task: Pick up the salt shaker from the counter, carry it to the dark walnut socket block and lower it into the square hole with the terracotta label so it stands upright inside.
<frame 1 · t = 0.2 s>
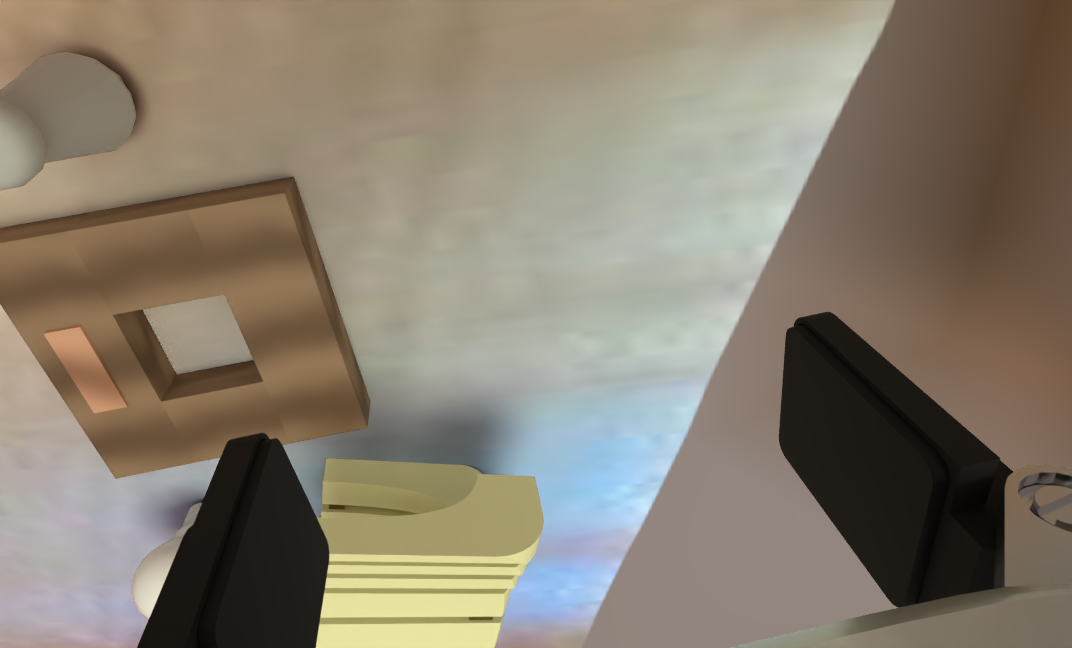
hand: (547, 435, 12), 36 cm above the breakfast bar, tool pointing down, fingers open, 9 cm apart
socket block: (205, 325, 48), on the breakfast bar
lightbulb: (207, 506, 58), on the breakfast bar
slatted curved stool: (408, 512, 62), on the breakfast bar
salt shaker: (98, 96, 40), on the breakfast bar
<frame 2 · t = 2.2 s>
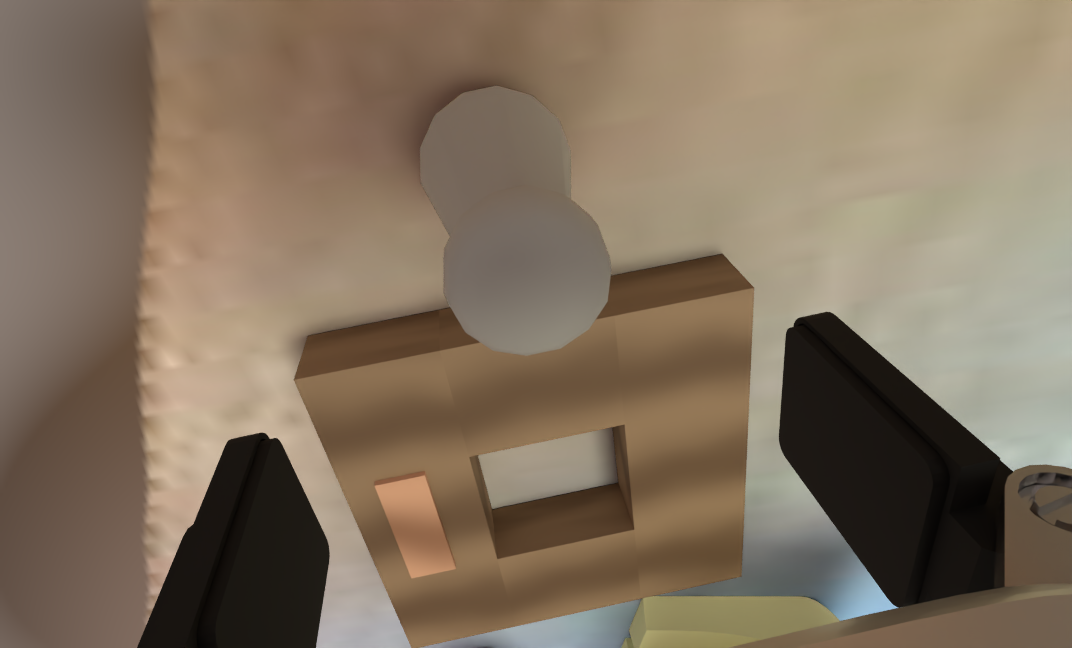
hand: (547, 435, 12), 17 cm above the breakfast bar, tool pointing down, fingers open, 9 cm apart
socket block: (546, 449, 35), on the breakfast bar
salt shaker: (490, 147, 26), on the breakfast bar
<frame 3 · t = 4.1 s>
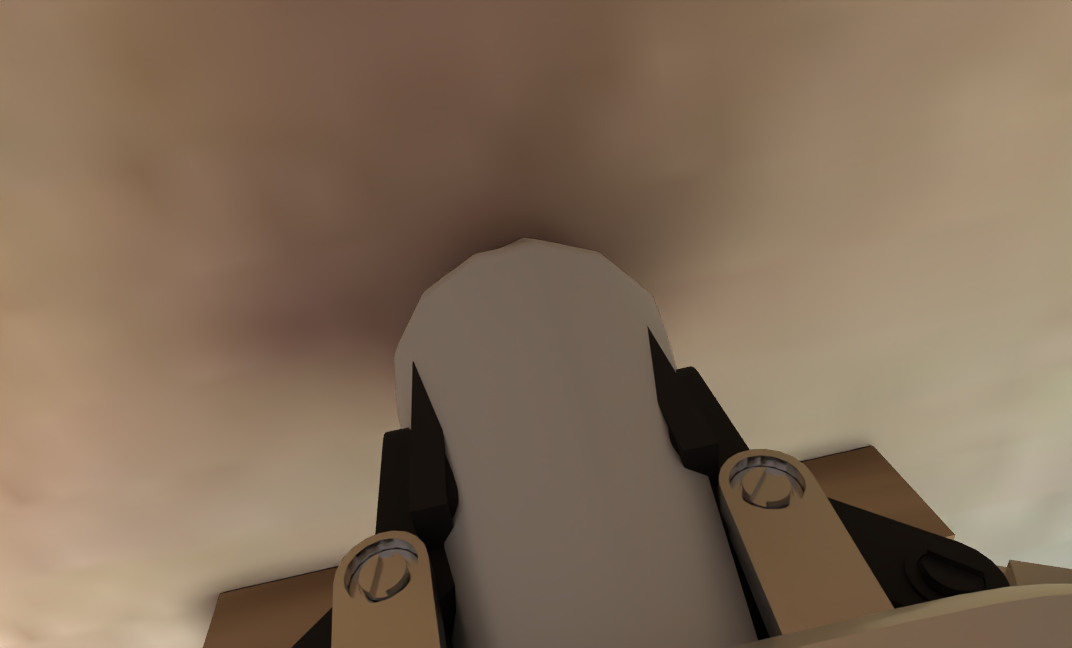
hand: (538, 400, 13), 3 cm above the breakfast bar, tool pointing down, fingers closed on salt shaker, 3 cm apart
salt shaker: (518, 315, 15), on the breakfast bar, touching gripper
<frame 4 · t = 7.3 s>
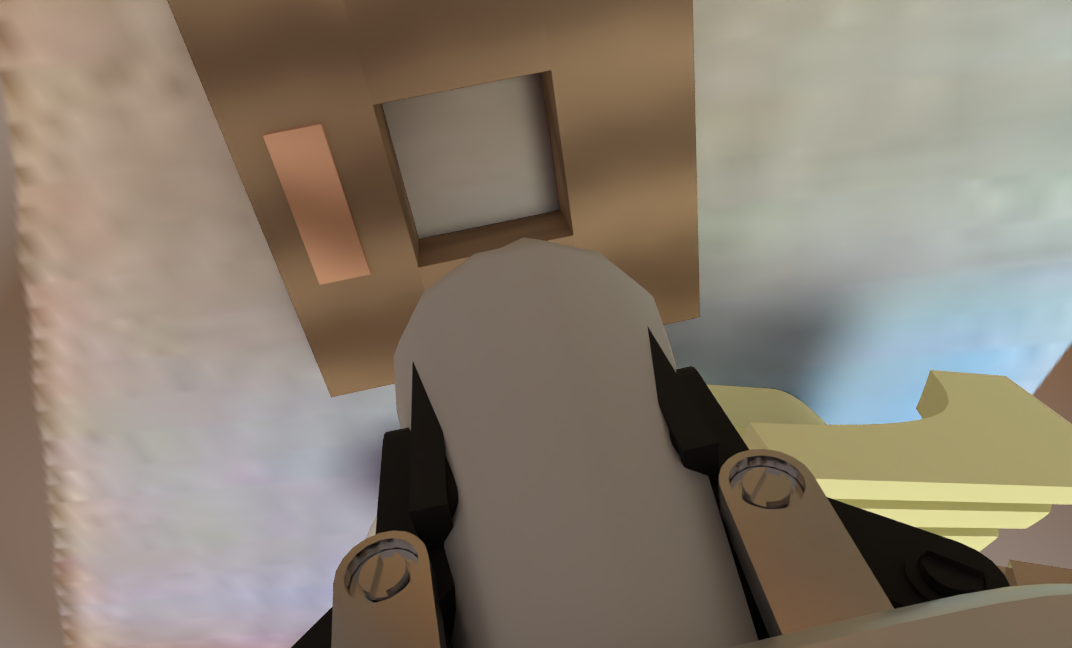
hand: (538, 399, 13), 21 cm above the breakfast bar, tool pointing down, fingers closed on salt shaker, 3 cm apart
socket block: (475, 154, 31), on the breakfast bar
slatted curved stool: (683, 459, 44), on the breakfast bar
salt shaker: (518, 315, 15), point 18 cm above the breakfast bar, touching gripper
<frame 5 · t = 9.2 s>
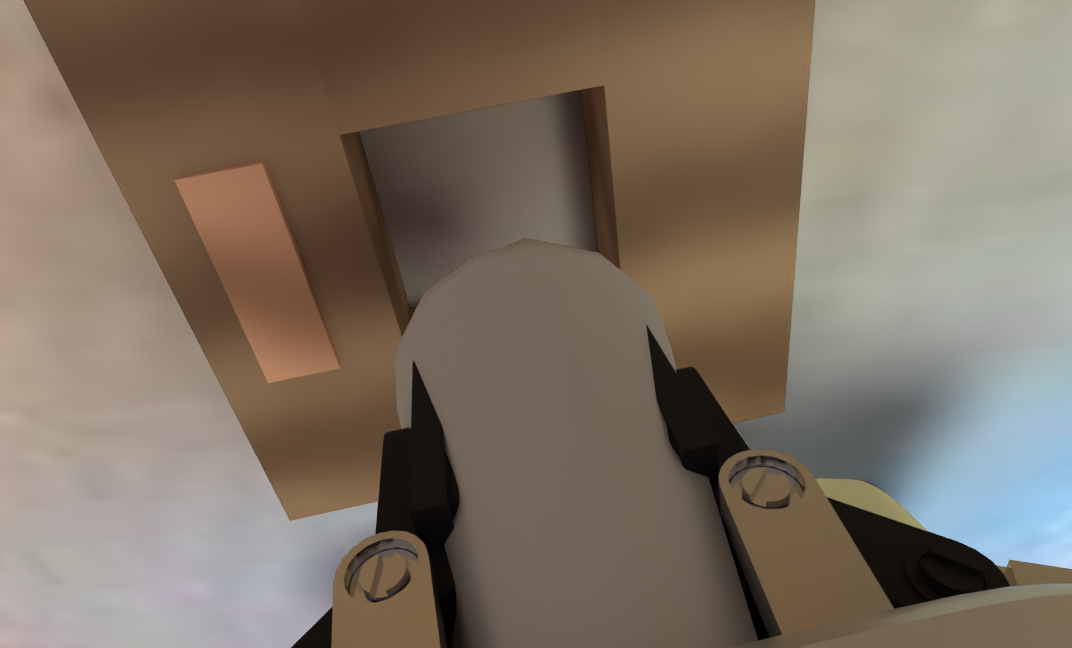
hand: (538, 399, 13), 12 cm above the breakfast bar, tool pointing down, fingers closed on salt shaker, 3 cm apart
socket block: (487, 196, 23), on the breakfast bar
slatted curved stool: (737, 560, 36), on the breakfast bar
salt shaker: (519, 316, 15), point 9 cm above the breakfast bar, touching gripper
when the fingers open (5 cm above the breakfast bar, at t = 10.8 s): salt shaker drops 1 cm, resting in socket block.
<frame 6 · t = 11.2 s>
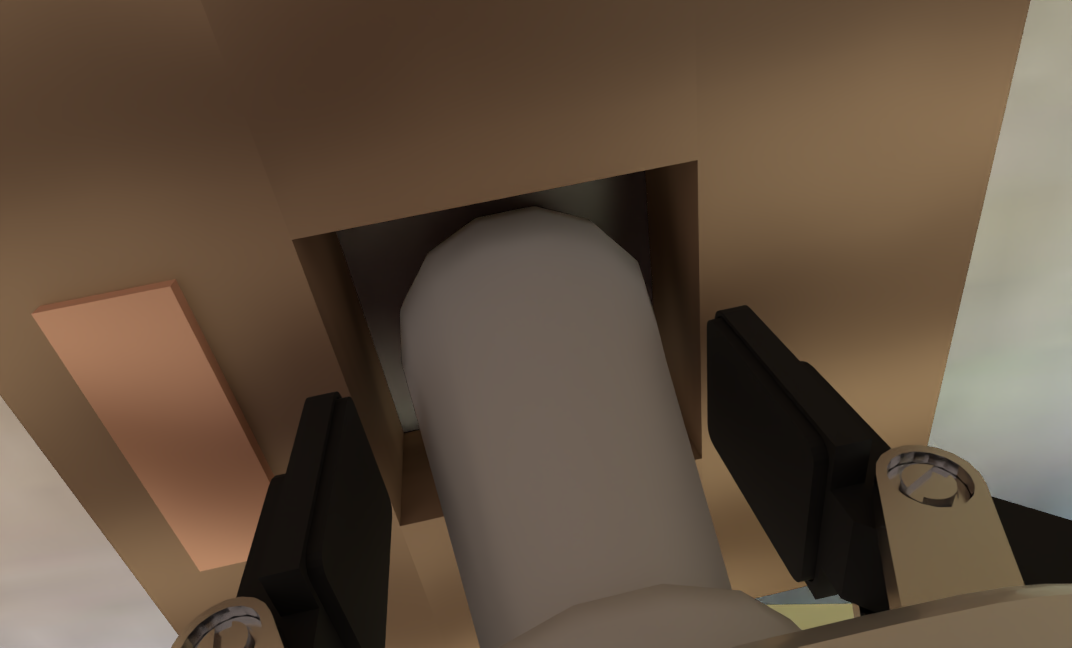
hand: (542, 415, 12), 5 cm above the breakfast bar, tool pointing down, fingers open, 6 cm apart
socket block: (510, 292, 17), on the breakfast bar
salt shaker: (514, 283, 17), resting in socket block
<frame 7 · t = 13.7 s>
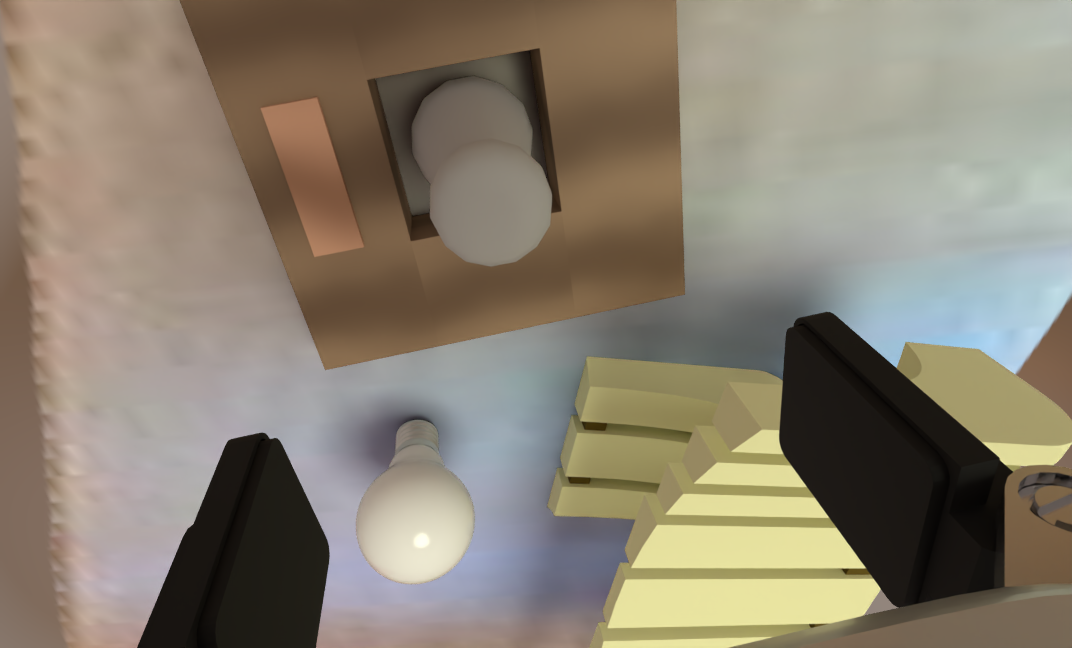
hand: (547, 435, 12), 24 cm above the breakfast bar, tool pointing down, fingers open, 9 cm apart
socket block: (466, 132, 32), on the breakfast bar
lightbulb: (417, 427, 41), on the breakfast bar
slatted curved stool: (671, 440, 45), on the breakfast bar
salt shaker: (469, 128, 32), resting in socket block
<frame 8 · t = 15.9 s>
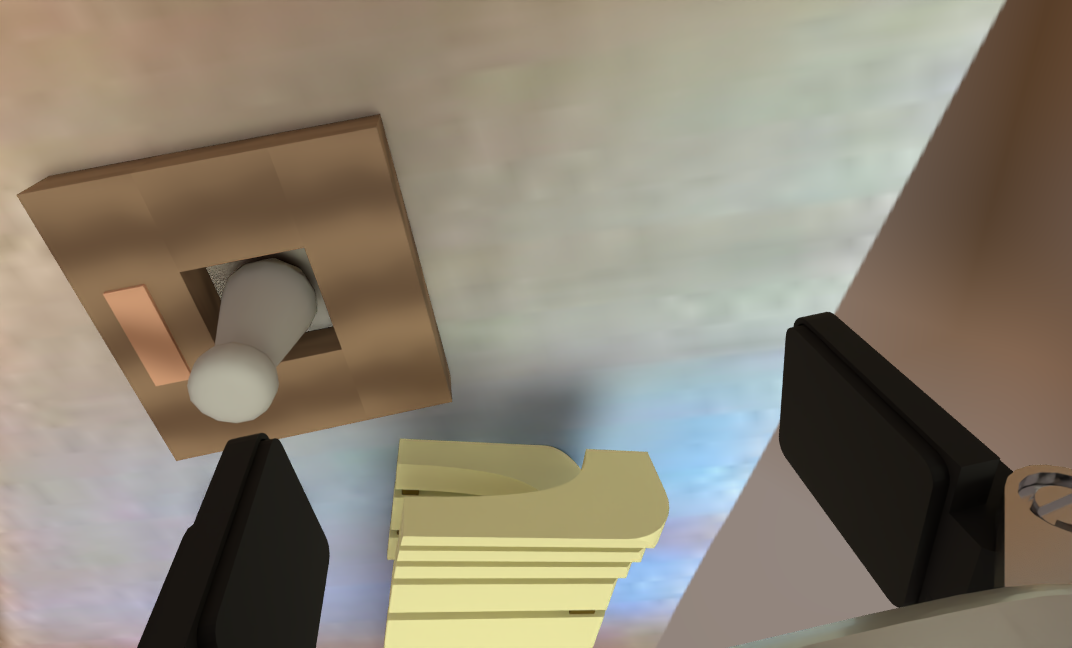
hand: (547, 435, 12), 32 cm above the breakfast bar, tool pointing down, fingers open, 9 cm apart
socket block: (275, 288, 44), on the breakfast bar
slatted curved stool: (484, 498, 57), on the breakfast bar
salt shaker: (278, 284, 44), resting in socket block
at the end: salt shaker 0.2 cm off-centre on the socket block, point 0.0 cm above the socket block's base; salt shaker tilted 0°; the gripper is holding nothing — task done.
